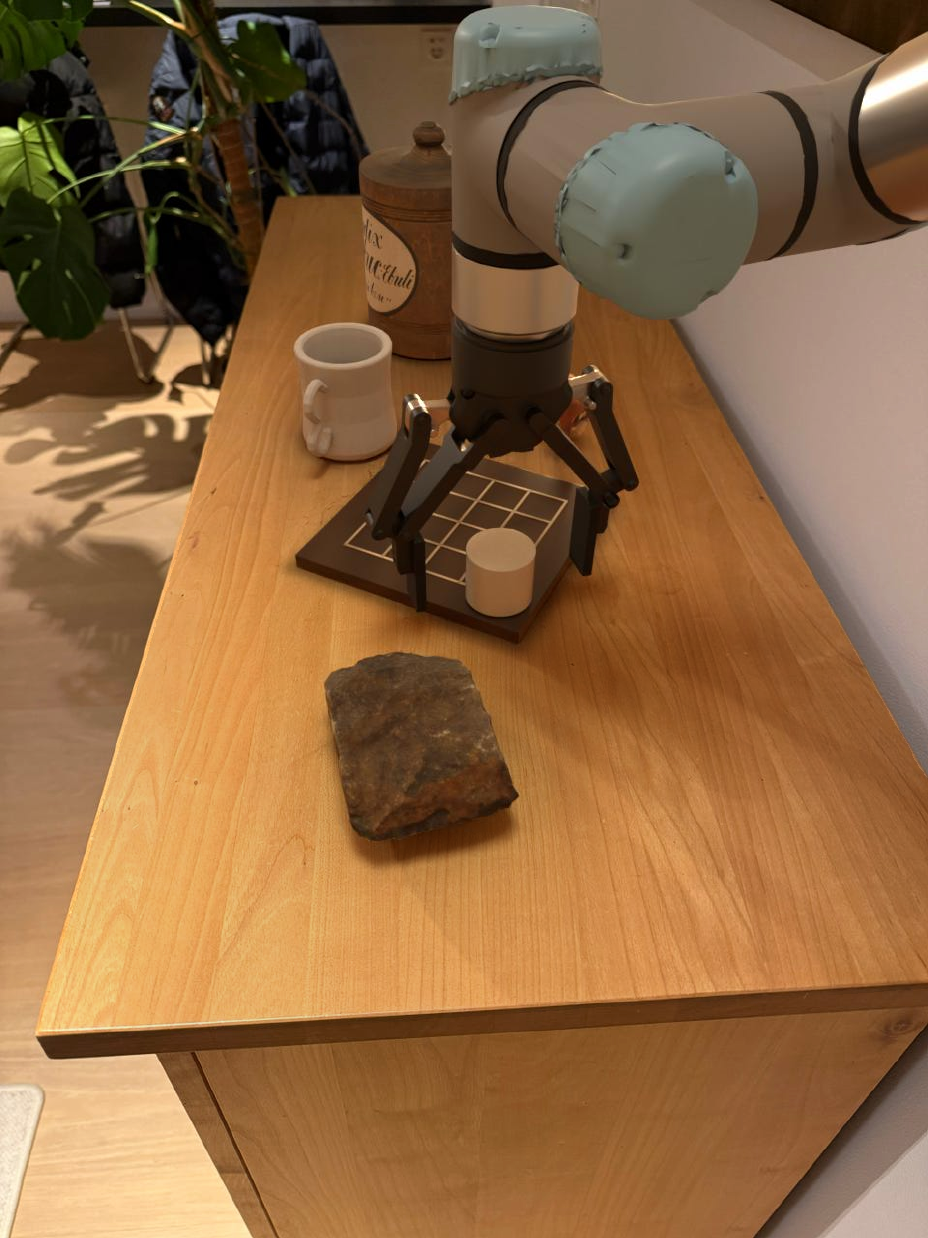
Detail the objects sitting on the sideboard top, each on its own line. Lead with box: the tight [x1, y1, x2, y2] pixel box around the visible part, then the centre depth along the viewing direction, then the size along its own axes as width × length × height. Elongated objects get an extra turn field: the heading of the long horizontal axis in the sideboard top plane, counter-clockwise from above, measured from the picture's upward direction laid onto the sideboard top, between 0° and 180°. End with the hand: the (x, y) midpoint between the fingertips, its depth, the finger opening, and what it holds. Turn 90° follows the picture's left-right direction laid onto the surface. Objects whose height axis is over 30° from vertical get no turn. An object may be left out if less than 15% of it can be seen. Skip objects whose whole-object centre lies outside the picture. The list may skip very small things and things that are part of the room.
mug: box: [293, 322, 398, 462], centre depth 85 cm, size 12×9×10 cm
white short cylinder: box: [465, 528, 536, 617], centre depth 69 cm, size 5×5×4 cm
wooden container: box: [358, 120, 455, 360], centre depth 99 cm, size 15×15×22 cm
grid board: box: [294, 442, 589, 644], centre depth 78 cm, size 20×20×1 cm
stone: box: [323, 651, 520, 843], centre depth 58 cm, size 10×14×6 cm
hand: (500, 582), depth 70 cm, fingers open, 13 cm apart
